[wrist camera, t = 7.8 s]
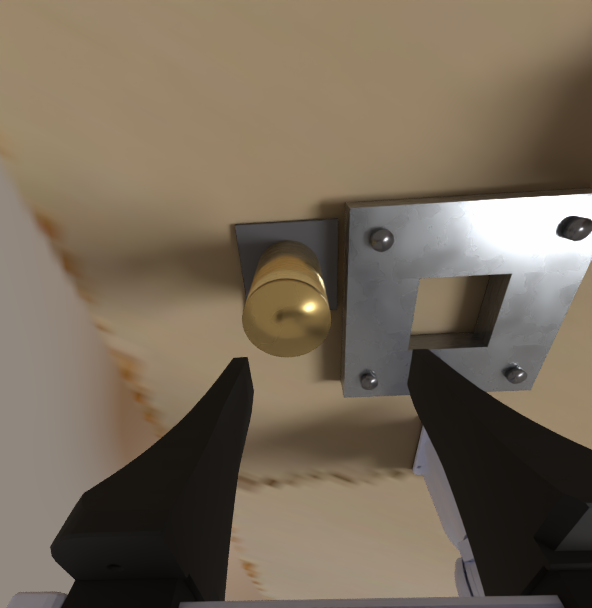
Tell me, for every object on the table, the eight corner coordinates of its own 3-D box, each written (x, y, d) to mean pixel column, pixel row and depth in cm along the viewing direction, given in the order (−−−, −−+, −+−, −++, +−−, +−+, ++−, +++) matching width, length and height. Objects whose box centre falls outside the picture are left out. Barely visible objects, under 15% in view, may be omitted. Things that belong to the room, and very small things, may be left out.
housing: (514, 373, 26) (534, 394, 24) (340, 381, 27) (344, 402, 24) (591, 187, 18) (631, 193, 16) (345, 202, 19) (351, 209, 17)
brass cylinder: (322, 295, 22) (333, 353, 16) (263, 301, 22) (251, 360, 16) (317, 236, 20) (328, 276, 13) (252, 244, 20) (233, 286, 14)
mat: (336, 307, 23) (336, 309, 22) (249, 311, 23) (248, 314, 23) (337, 218, 19) (338, 219, 19) (235, 224, 20) (234, 225, 19)
